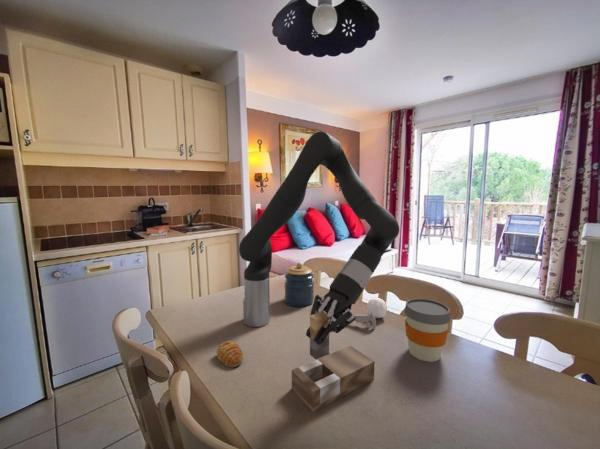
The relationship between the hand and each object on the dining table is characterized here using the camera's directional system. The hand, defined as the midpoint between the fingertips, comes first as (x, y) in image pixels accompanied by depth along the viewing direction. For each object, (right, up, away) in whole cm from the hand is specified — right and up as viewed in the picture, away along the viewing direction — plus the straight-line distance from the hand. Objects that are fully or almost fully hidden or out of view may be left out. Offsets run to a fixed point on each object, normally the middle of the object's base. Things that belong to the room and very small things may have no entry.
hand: (312, 339), depth 66 cm
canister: (-3, -7, +59) cm, 59 cm away
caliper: (+15, -10, +38) cm, 42 cm away
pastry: (-23, -13, +17) cm, 31 cm away
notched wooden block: (+6, -14, +6) cm, 16 cm away
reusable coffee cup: (+35, -12, +20) cm, 42 cm away
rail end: (+2, -4, +2) cm, 5 cm away
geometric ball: (+27, -9, +44) cm, 52 cm away
